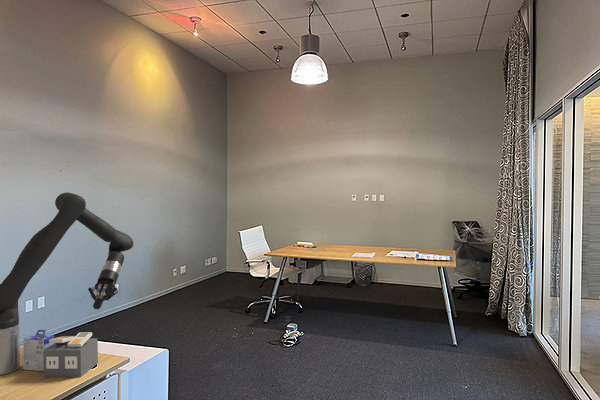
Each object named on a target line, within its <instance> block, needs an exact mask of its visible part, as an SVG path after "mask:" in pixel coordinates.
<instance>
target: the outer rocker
mask: <svg viewBox="0 0 600 400" xmlns="http://www.w3.org/2000/svg"><path fill="white" fill-rule="evenodd" d="M74 336H75V337H74V338H73V339H72V340H71V341H70V342H69V343H68V347H82V345H83V344H84V343H85V342H86V341H87V340H88V339H89V338H91V337H92V336H93V332H91V331H90V332H89V331H87V332H84V331H83V332H82V331H81V332H78V333H77V334H76V335H74Z"/></svg>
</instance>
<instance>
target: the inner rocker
mask: <svg viewBox="0 0 600 400" xmlns="http://www.w3.org/2000/svg"><path fill="white" fill-rule="evenodd" d="M75 336H76V335H73V336H72V335H71V336H70V335H68V336H66V335H64V336H59V337H54V339H50V340H49V343H54V344H55V343H64V342H67V341H71V340H72V339H73V338H74V337H75Z"/></svg>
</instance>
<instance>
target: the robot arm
mask: <svg viewBox="0 0 600 400" xmlns="http://www.w3.org/2000/svg"><path fill="white" fill-rule="evenodd" d="M54 201H55V202H54V204H55V207H56V209H57V210H58V212H57V213H56V215H55V216H54V217H53V219H52V220H51V221H50V222H49V223H47V225H45V226H44V227H43V228H41V229H40V230H38V231H37V232H36V233H34V234H33V236H32V237H31V238H30V240H29V241H28V242H27V244H25V246H24V248H23V249H22V251H21V252H20V253H19V255H18V257H17V259H16V261H15V263H14V265H13V267H12V269H11V271H10V272H9V274H7V276H6V277H5V278H4V280H3V281H2V282H1V283H0V375H1V376H2V375H7V374H10V373H13V372H15V371H17V370H19V369H20V368H21V356H20V355H21V353H20V352H21V350H20V349H21V348H20V345H21V344H20V314H19V299H20V297H21V296H22V294H23V292H24V291H25V288H27V286H28V285H29V282H30V281H31V279H33V277H34V275H36V274H37V273H38V272H39V270H40V269H41V268H42V266H43V265H44V264H45V262H46V261H47V260H48V259H49V257H50V256H51V255H52V253H53V251H54V250H55V248H56V247H57V245H58V244H59V243H60V242H61V240H62V238H64V236H65V234H67V232H68V230H69V229H70V228H71V226H73V225H74V223H76V221H78V222H79V223H80V224H82V225H83V227H86V228H87V229H88V230H90V231H91V232H92V233H93V234H95V236H97V237H99V239H101V240H103V241H104V242H105V243H109V244H108V253H107V254H108V256H107V258H106V260H105V262H104V265H103V266H102V269H101V271H100V273H99V276H98V278H97V282H96V283H95V284H94V286H93V287H88V288H87V290H88V292H89V294H90V296H91V298H92V299H93V301H94V303H93V304H92V308H93V309H94V310H100V309H101V308H102V305H103V302H104V301H109V300H110V299H111V298H113V297H114V296H115V295H116V294H118V293H119V291H120V290H119V289H118V287H116V285H117V281H118V278H119V277H120V274H121V271H122V266H123V263H124V261H125V254H123V253H122V252H126V251H129V250H132V249H133V247H134V240H133V238H132V237H131V236H130V235H129V234H127V233H125V232H122V231H120V230H118V229H116V228H114V227H113V226H112V225H111V224H110V223H108V222H107V221H106V220H104V219H102V218H101V217H99V216H98V215H96V214H95V213H93V212H92V211H90V210H89V209H88V208H87V207H86V206H87V202H86V199H85V198H84V197H83V196H80V195H79V194H76V193H74V192H73V193H72V192H62V193H60V194H59V195H58V196H56V199H55V200H54ZM95 293H96V294H95Z"/></svg>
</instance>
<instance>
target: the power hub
mask: <svg viewBox="0 0 600 400" xmlns="http://www.w3.org/2000/svg"><path fill="white" fill-rule="evenodd" d="M69 342H70V341H67V342H64V343H54V344H53V345H51V346H50V347H48V348H46V349H45V350H43V365H44V371H43V378H82V377H83V376H84V375H85V374H87V373H88V372H89V371H90V370H91V369H93V368H94V367H96V365H98V364H99V351H98V350H99V343H98V338H97V337H95V338H94V337H93V338H91V337H90V338H89V339H88V340H87V341H86V342H85V343H84V344H83V345H82V347H68V343H69Z"/></svg>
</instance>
